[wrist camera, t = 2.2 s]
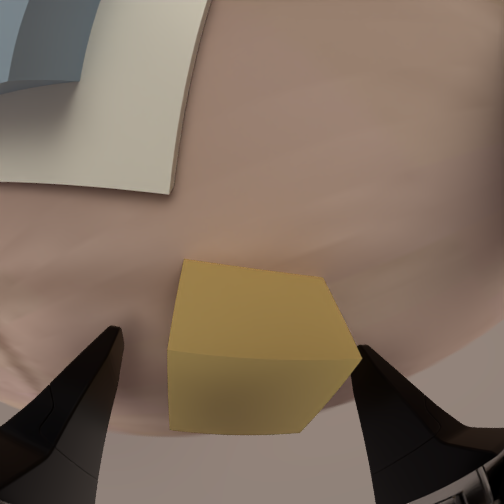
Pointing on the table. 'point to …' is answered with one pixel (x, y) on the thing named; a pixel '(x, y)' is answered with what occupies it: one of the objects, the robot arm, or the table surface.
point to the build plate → (110, 103)
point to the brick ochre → (253, 350)
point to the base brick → (43, 41)
